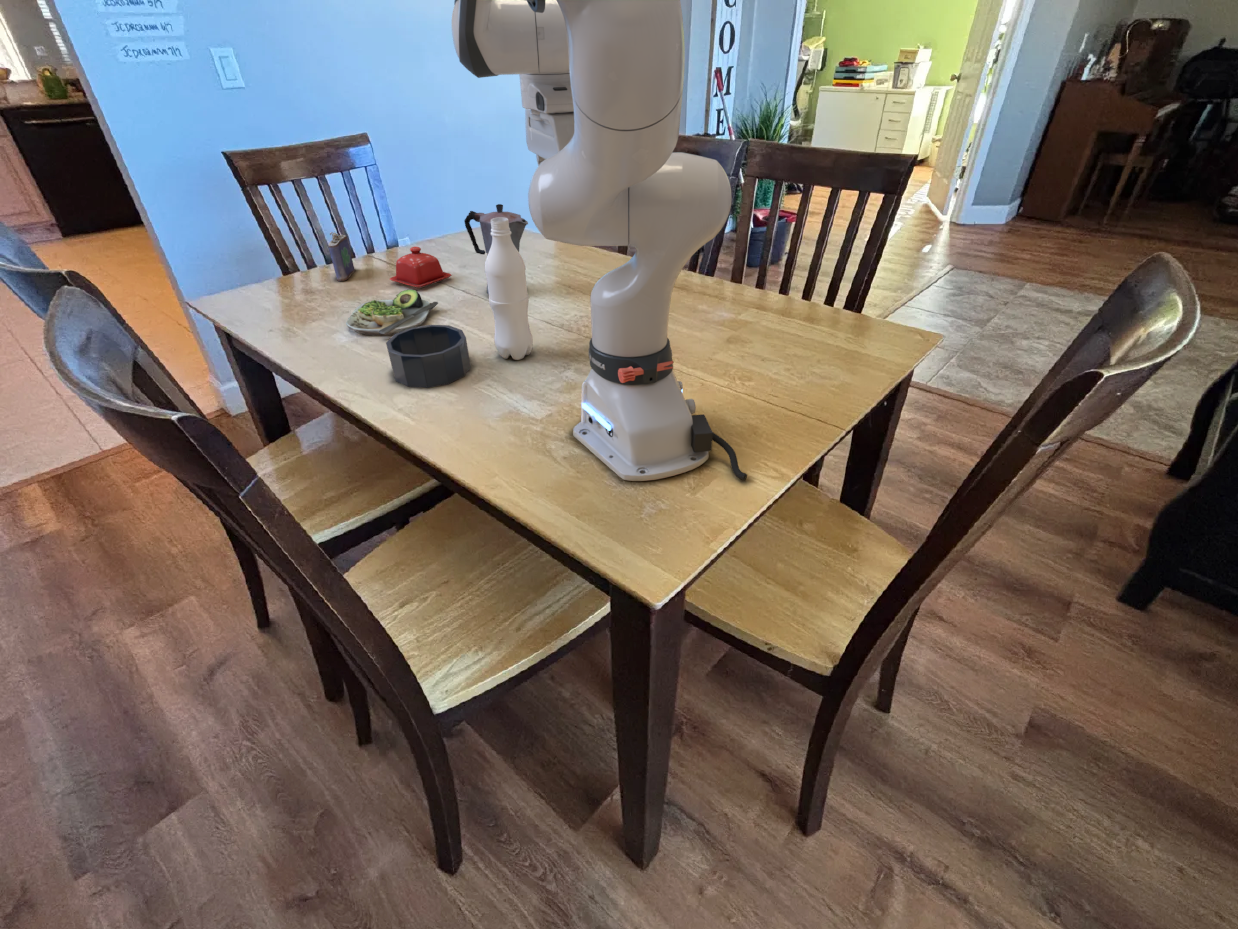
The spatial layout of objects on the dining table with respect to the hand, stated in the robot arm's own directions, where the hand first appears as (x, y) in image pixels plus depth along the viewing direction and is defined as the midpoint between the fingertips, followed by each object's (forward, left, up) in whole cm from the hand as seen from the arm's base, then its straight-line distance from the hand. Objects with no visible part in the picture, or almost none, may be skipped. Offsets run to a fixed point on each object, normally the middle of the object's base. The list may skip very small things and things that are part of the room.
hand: (555, 188), depth 106 cm
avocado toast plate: (+28, +30, -29) cm, 50 cm away
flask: (+63, +38, -29) cm, 79 cm away
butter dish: (+50, +21, -29) cm, 62 cm away
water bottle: (0, +10, -29) cm, 31 cm away
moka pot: (+34, +4, -29) cm, 45 cm away
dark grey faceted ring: (0, +26, -29) cm, 39 cm away
